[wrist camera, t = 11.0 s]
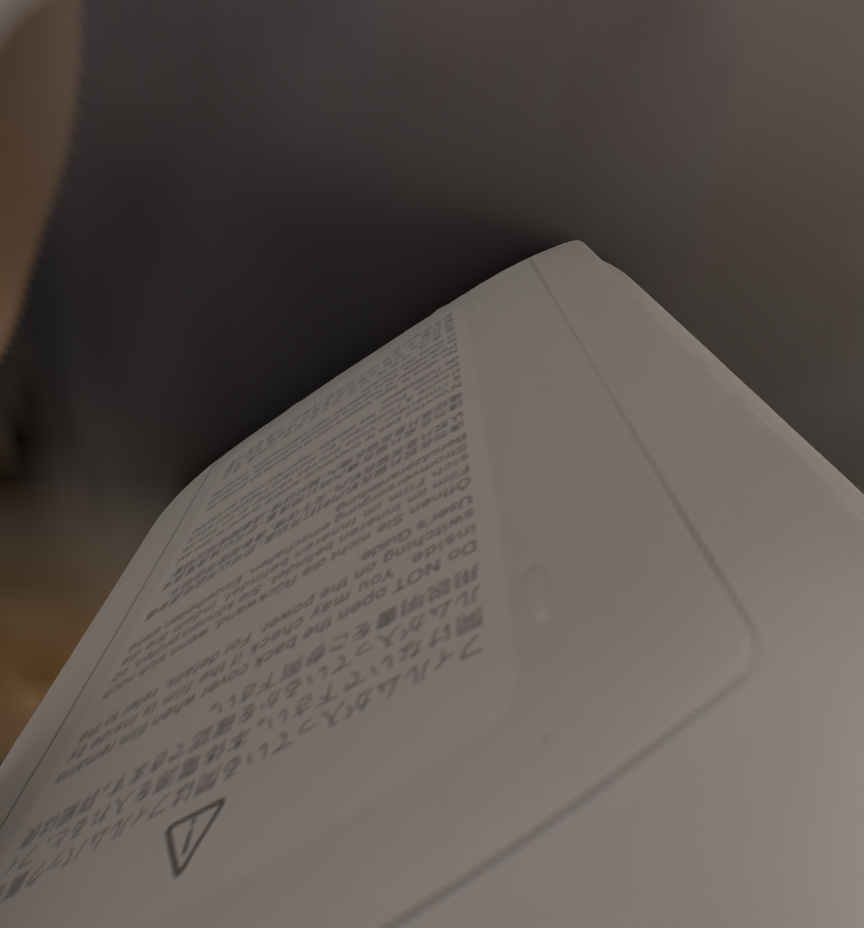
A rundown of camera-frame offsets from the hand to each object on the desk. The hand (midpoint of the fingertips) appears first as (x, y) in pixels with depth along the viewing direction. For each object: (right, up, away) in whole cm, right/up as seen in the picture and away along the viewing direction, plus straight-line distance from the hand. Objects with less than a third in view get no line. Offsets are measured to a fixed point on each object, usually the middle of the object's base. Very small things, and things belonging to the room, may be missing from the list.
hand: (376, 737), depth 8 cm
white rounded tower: (0, +3, +7) cm, 8 cm away
